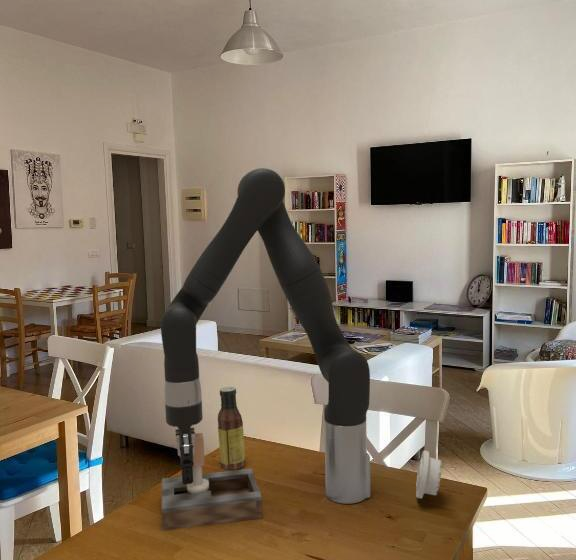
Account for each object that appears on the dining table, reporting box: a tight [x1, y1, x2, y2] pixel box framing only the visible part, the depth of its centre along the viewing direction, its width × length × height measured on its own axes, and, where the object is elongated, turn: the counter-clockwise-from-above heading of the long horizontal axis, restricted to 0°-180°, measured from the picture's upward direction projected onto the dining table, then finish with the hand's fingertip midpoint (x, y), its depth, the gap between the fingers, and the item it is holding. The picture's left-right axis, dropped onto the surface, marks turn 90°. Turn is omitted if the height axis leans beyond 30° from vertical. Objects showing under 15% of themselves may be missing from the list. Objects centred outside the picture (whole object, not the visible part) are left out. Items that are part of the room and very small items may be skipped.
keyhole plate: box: [161, 468, 263, 531], centre depth 121 cm, size 20×14×5 cm
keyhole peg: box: [187, 432, 209, 494], centre depth 120 cm, size 5×5×12 cm
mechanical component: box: [415, 450, 442, 499], centre depth 123 cm, size 10×4×10 cm, turn 168°
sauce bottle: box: [217, 386, 246, 471], centre depth 141 cm, size 7×6×20 cm
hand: (187, 479), depth 120 cm, fingers closed on keyhole peg, 3 cm apart
